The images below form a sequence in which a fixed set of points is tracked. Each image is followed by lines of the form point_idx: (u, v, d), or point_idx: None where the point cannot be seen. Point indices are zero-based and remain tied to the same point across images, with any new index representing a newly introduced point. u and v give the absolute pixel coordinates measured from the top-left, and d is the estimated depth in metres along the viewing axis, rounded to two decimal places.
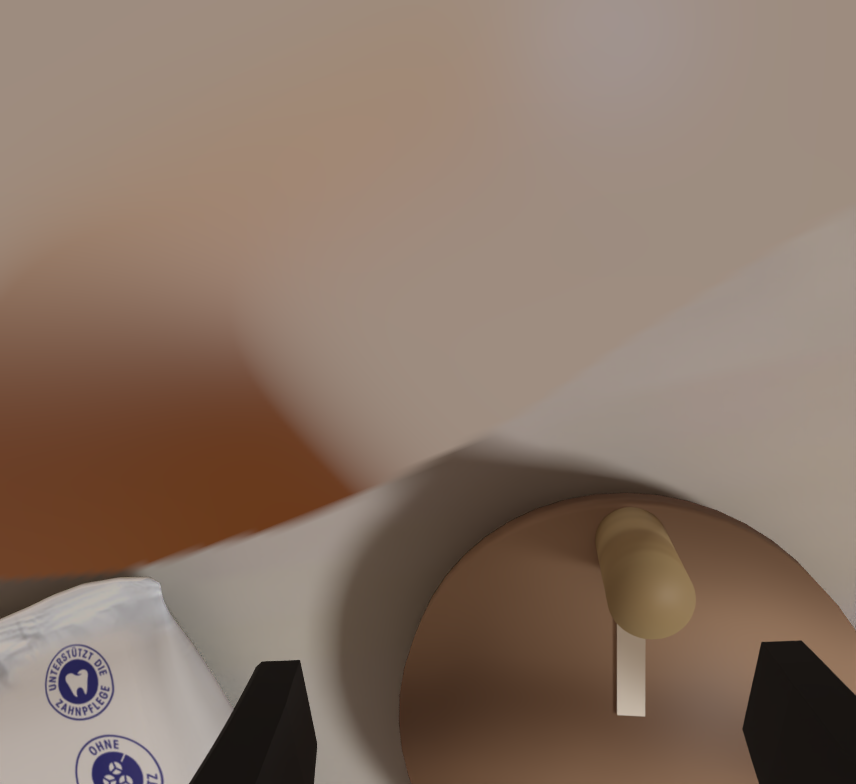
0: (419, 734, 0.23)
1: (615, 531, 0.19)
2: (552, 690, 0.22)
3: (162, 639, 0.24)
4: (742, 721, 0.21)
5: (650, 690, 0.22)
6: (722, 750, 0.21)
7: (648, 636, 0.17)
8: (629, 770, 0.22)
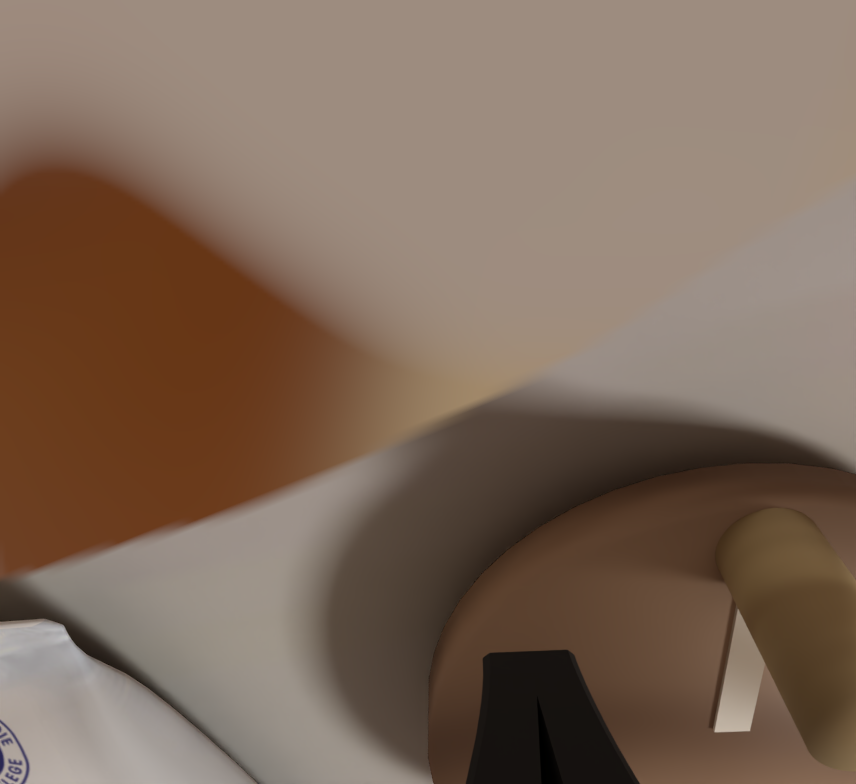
0: (455, 765, 0.18)
1: (777, 575, 0.13)
2: (633, 713, 0.17)
3: (84, 696, 0.17)
4: None
5: (761, 705, 0.17)
6: None
7: (853, 763, 0.12)
8: (718, 777, 0.18)
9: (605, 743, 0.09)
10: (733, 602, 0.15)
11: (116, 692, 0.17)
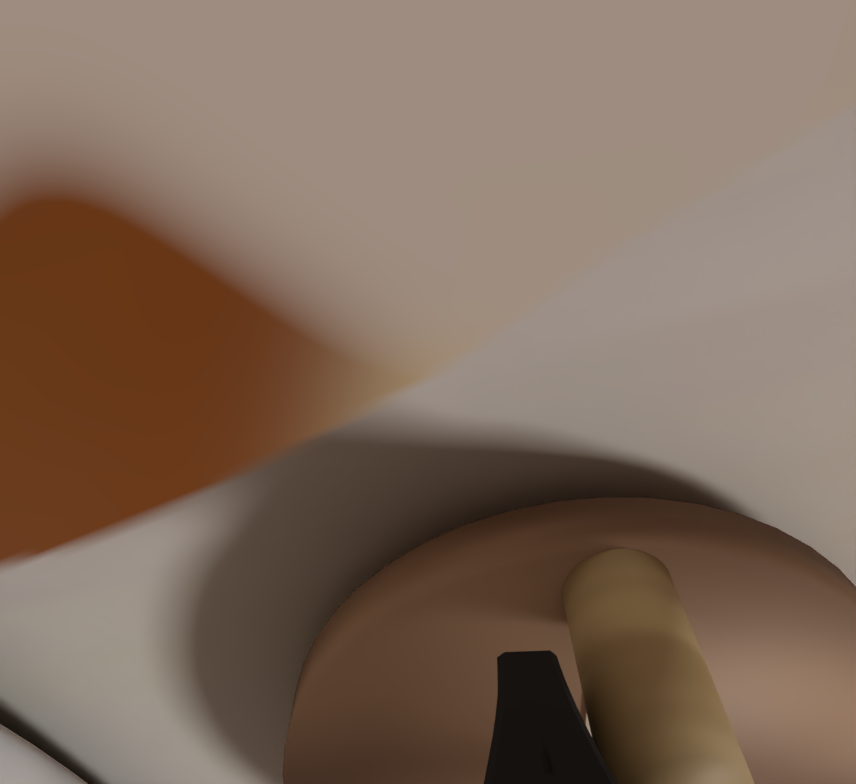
0: None
1: (605, 625, 0.12)
2: None
3: None
4: None
5: None
6: None
7: None
8: None
9: (583, 744, 0.09)
10: None
11: None
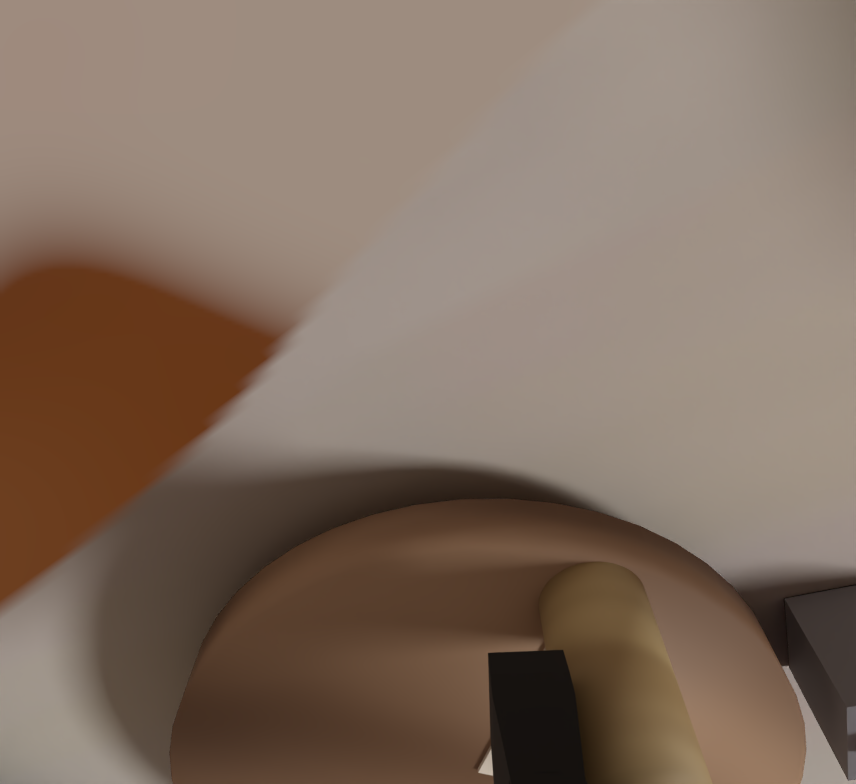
0: (200, 742, 0.16)
1: (597, 630, 0.12)
2: (404, 733, 0.16)
3: None
4: None
5: None
6: None
7: None
8: None
9: (556, 745, 0.09)
10: (541, 647, 0.14)
11: None
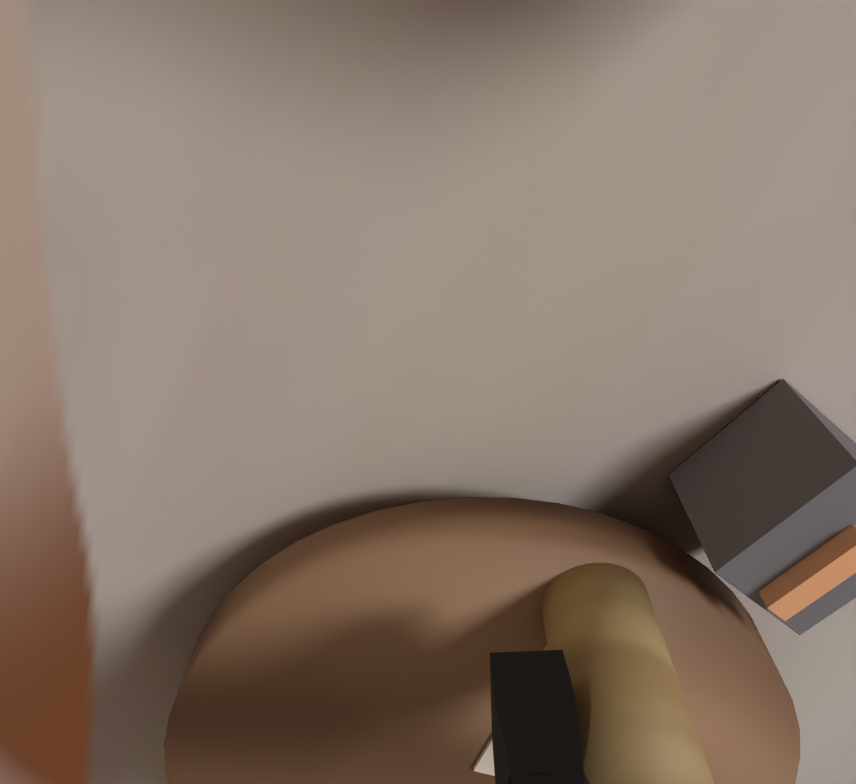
0: (195, 734, 0.16)
1: (601, 630, 0.12)
2: (401, 730, 0.16)
3: None
4: None
5: None
6: None
7: None
8: None
9: (558, 745, 0.09)
10: (542, 646, 0.14)
11: None
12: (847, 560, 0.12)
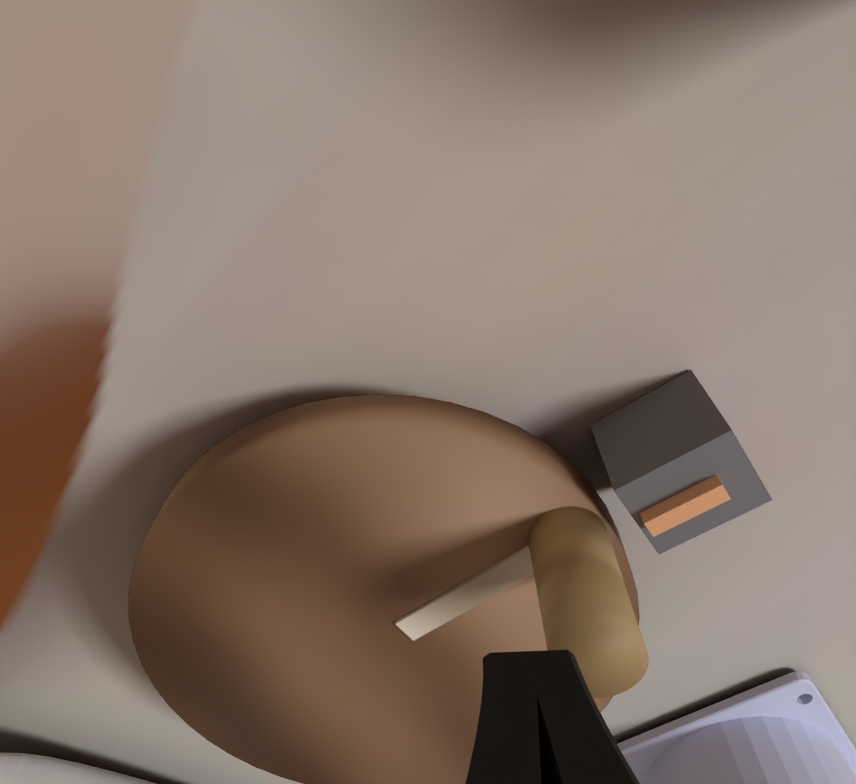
0: (209, 501, 0.18)
1: (595, 550, 0.17)
2: (368, 569, 0.19)
3: None
4: (470, 691, 0.21)
5: (439, 629, 0.20)
6: (433, 694, 0.22)
7: None
8: (353, 657, 0.21)
9: (605, 743, 0.09)
10: (511, 552, 0.19)
11: (10, 769, 0.24)
12: (707, 498, 0.17)
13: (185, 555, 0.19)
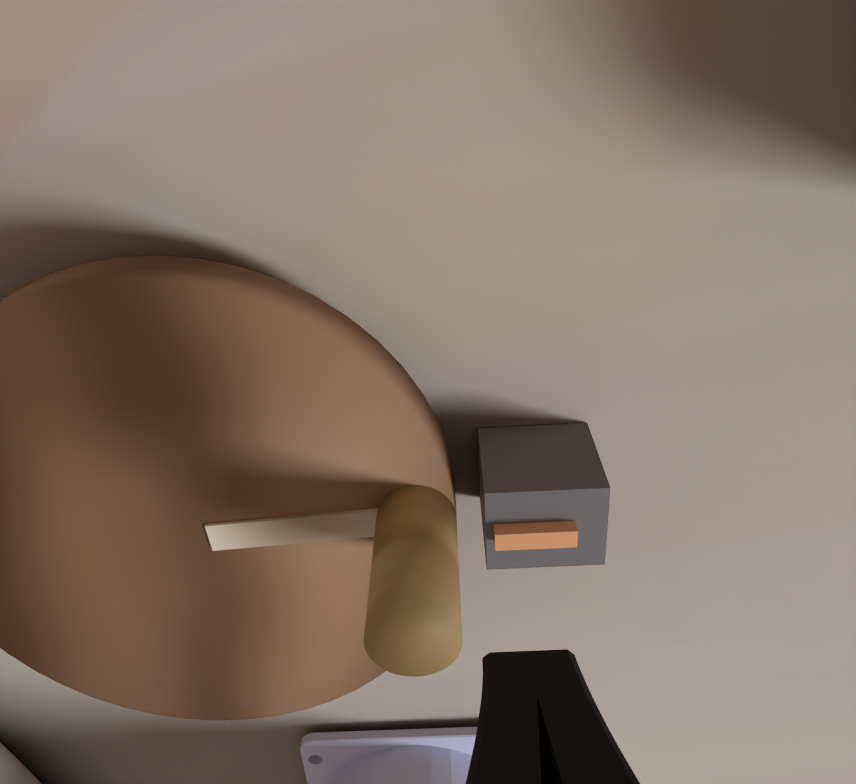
0: (85, 309, 0.16)
1: (447, 538, 0.17)
2: (210, 460, 0.18)
3: None
4: (236, 624, 0.20)
5: (244, 551, 0.19)
6: (199, 613, 0.20)
7: (364, 639, 0.15)
8: (140, 541, 0.19)
9: (605, 743, 0.09)
10: (358, 508, 0.18)
11: None
12: (559, 537, 0.18)
13: (22, 352, 0.16)
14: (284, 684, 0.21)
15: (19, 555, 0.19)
